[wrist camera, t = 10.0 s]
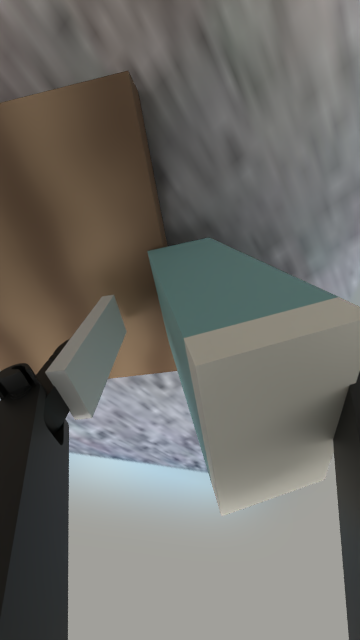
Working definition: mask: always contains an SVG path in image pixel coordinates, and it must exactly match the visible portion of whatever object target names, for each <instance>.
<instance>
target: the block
mask: <svg viewBox="0 0 360 640" xmlns="http://www.w3.org/2000/svg"><path fill="white" fill-rule="evenodd" d="M147 252H148V256H149V261H150V265H151V269H152V273H153V278H154V282H155V286H156V290H157V294H158V299H159V303H160V307H161V311H162V315H163V320H164V324H165V328H166V332H167V336H168V341H169V344H170V348H171V351H172V354H173V358H174V361H175V364H176V367H177V371H178V374H179V377H180V381H181V384H182V387H183V391H184V394H185V397H186V400H187V404H188V407H189V410H190V414H191V417H192V420H193V423H194V427H195V430H196V433H197V437H198V440H199V443H200V447H201V450H202V453H203V456H204V460H205V463H206V466H207V470H208V473H209V476H210V480H211V483H212V486H213V489H214V493H215V496H216V499H217V503H218V506H219V509H220V513H221V515H222V516H224V515H227V514H230V513H232V512H235V511H238V510H241V509H243V508H246V507H249V506H252V505H255V504H258V503H260V502H263V501H266V500H269V499H272V498H275V497H277V496H280V495H283V494H286V493H289V492H292V491H294V490H297V489H300V488H303V487H306V486H308V485H311V484H314V483H317V482H320V481H322V480H325V478H326V474H327V471H328V468H329V465H330V462H331V459H332V456H333V453H334V446H333V438H334V435H335V432H336V428H337V425H338V422H339V419H340V415H341V412H342V409H343V405H344V402H345V399H346V396H347V392H348V389H349V386H350V385H351V384H354V383H356V381H357V378H358V375H359V372H360V307H359V306H357V305H355V304H353V303H350V302H348V301H346V300H344V299H342V298H340V297H337V296H335V295H333V294H331V293H329V292H327V291H324V290H322V289H320V288H318V287H316V286H314V285H311V284H309V283H307V282H305V281H303V280H300V279H298V278H296V277H294V276H292V275H290V274H287V273H285V272H283V271H281V270H279V269H277V268H274V267H272V266H270V265H268V264H266V263H264V262H261V261H259V260H257V259H255V258H253V257H251V256H248V255H246V254H244V253H242V252H240V251H237V250H235V249H233V248H231V247H229V246H227V245H224V244H222V243H220V242H218V241H216V240H214V239H211V238H204V239H200V240H195V241H191V242H186V243H182V244H177V245H173V246H168V247H164V248H159V249H154V250H150V251H147Z"/></svg>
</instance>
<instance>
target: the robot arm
mask: <svg viewBox="0 0 360 640" xmlns="http://www.w3.org/2000/svg"><path fill="white" fill-rule="evenodd" d="M126 332H127V331H126V328H125V325H124V322H123V319H122V317H121V314H120V311H119V308H118V305H117V302H116V299H115V296H114V295H108V296H102V297H101V299H100V300H99V301H98V303H97V304H96V305H95V307H94V308H93V309H92V311H91V312H90V313H89V315H88V316H87V317H86V319H85V320H84V321H83V323H82V324H81V325H80V327H79V328H78V329H77V331H76V332H75V333H74V335H73V336H72V337H71V339H69V340H66V341H65V342H64V343H62V344H61V345H60V346H58V348H57V349H56V350H55V351H54V353H53V355H51V356H50V358H49V359H48V361H47V362H46V363H45V364H44V365H43V367H42V368H41V369H40V370H39V372H38V373H37V374H36V375H35V373H34V372H33V370H32V369H31V367H30V366H29V365H28V364H26V363H19V364H15V365H12V366H10V367H7V368H5V369H4V370H2V371H0V399H1V401H0V640H68V500H69V499H68V498H69V497H68V496H69V494H68V493H69V425H68V422H67V421H66V420H65V418H66V416H67V414H68V413H69V411H70V413H71V414H72V416H73V417H74V419H75V420H78V419H88V418H92V417H93V415H94V412H95V410H96V407H97V405H98V402H99V400H100V397H101V395H102V392H103V389H104V387H105V384H106V382H107V379H108V377H109V374H110V372H111V369H112V367H113V364H114V362H115V359H116V357H117V354H118V352H119V349H120V347H121V344H122V342H123V339H124V337H125V334H126ZM333 446H334V458H335V470H336V483H337V495H338V508H339V520H340V533H341V544H342V556H343V569H344V582H345V594H346V607H347V620H348V632H349V640H360V372H359V375H358V378H357V381H356V383H354V384H351V385H350V386H349V389H348V392H347V396H346V399H345V402H344V405H343V409H342V412H341V415H340V419H339V422H338V425H337V428H336V432H335V435H334V438H333Z"/></svg>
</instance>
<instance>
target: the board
mask: <svg viewBox="0 0 360 640" xmlns="http://www.w3.org/2000/svg"><path fill="white" fill-rule="evenodd" d="M164 247H168V246H167V241H166V236H165V231H164V225H163V220H162V215H161V210H160V204H159V199H158V194H157V189H156V183H155V178H154V173H153V168H152V162H151V157H150V152H149V147H148V141H147V136H146V131H145V126H144V120H143V115H142V110H141V104H140V99H139V94H138V90H137V88H136V86H135V84H134V82H133V80H132V78H131V76H130V74H129V72H128V71H125V72H121V73H117V74H113V75H109V76H105V77H101V78H97V79H93V80H89V81H85V82H81V83H77V84H73V85H69V86H65V87H61V88H57V89H53V90H49V91H45V92H41V93H37V94H33V95H29V96H25V97H21V98H17V99H13V100H9V101H5V102H2V103H0V370H1V371H2V370H4V369H5V368H7V367H10V366H12V365H15V364H19V363H26V364H28V365H29V366H30V367H31V369H32V370H33V372H34V373H35V375H36V374H37V373H38V372H39V370H40V369H41V368H42V367H43V365H44V364H45V363H46V362H47V361H48V359H49V358H50V356H51V355H53V353H54V351H55V350H56V349H57V348H58V346H60V345H61V344H62V343H64V342H65V341H66V340H69V339H71V337H72V336H73V335H74V333H75V332H76V331H77V329H78V328H79V327H80V325H81V324H82V323H83V321H84V320H85V319H86V317H87V316H88V315H89V313H90V312H91V311H92V309H93V308H94V307H95V305H96V304H97V303H98V301H99V300H100V299H101V297H102V296H108V295H114V296H115V299H116V302H117V305H118V308H119V311H120V314H121V317H122V319H123V322H124V325H125V328H126V331H127V332H126V334H125V337H124V339H123V342H122V344H121V347H120V349H119V352H118V354H117V357H116V359H115V362H114V364H113V367H112V369H111V372H110V374H109V377H108V379H110V378H119V377H127V376H136V375H145V374H154V373H163V372H171V371H177V367H176V364H175V361H174V358H173V354H172V351H171V348H170V344H169V341H168V336H167V332H166V328H165V324H164V320H163V315H162V311H161V307H160V303H159V299H158V294H157V290H156V286H155V282H154V278H153V273H152V269H151V265H150V261H149V256H148V252H147V251H150V250H154V249H159V248H164Z"/></svg>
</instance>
